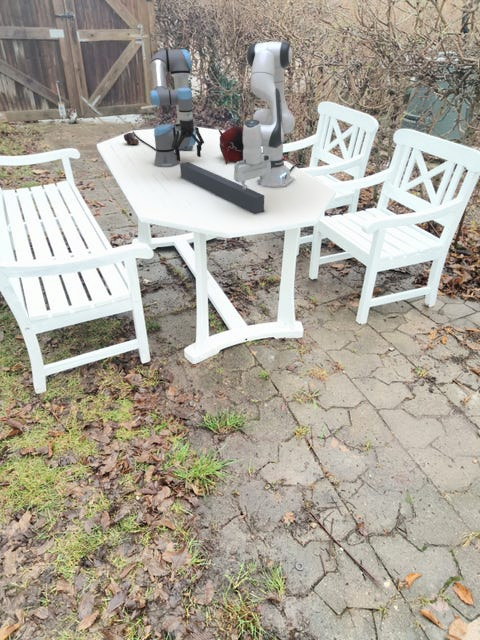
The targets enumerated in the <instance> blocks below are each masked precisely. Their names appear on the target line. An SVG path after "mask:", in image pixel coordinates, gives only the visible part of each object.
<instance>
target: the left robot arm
mask: <svg viewBox="0 0 480 640" xmlns="http://www.w3.org/2000/svg"><path fill="white" fill-rule="evenodd" d="M149 70H150V73H151V76H152V87H153V88H152V89H151V90H149V91H150V92H149V96H150V103H151V105H152V106H175V107H176V117H177V119H176V121H177V122H176V121H175V122H176V124H175V125H176V127H173V125H172V124H170V123H169V124H168V123H166V124H161V125H158V126H156V127H155V128H154V129H153V133H154V134H153V136H154V142H155V143H154V145H155V147H154V146H153V145H151V144H150V143H148V142H146V141H144V140H143V139H141V138H140V137H139V136H138V135H137V134H136V133H135V132H134V131H133V130H132V133H134V135H135V138H136V139H138V141H141V143H144V144H145V145H147V146H148V147H150V148H152V149H153V150H154V151H155V155H154V165H155V166H157V167H163V168H164V167H165V168H167V167H168V168H169V167H174V166H177V165H178V164H179V162H181V153H180V151H181V150H179V149H178V148H179V146H193V147H194V146H195V145H196V156H197V158H201V157H202V154H201V153H202V152H201V151H202V146H203V144H205V141H204V138H203V137H202V135H201V133H200V129H199V127H197V126H196V125H195V123H194V115H193V94H192V89H191V88H190V87H189V77H190V75H191V72H192V71H193V65H192V59H191V55H190V52H189V50H188V49H183V48H179V49H161V50H158V51H157V52H156V53H155V54H153V56H152V57H151V59H150V61H149ZM166 73H170V76H171V77H172V78H173V83H174V84H173V85H174V89H168V85H167V77H166ZM174 149H175V150H174Z"/></svg>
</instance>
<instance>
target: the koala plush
mask: <svg viewBox="0 0 480 640" xmlns="http://www.w3.org/2000/svg"><path fill="white" fill-rule="evenodd" d="M176 122H177V120H176V121H175V122H174V123H173V125H172V127H176V125H175V124H176ZM178 149H179V150H180V151H192V150H193V149H194V145H193V146H179V148H178ZM174 151H175V149H174Z"/></svg>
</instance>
